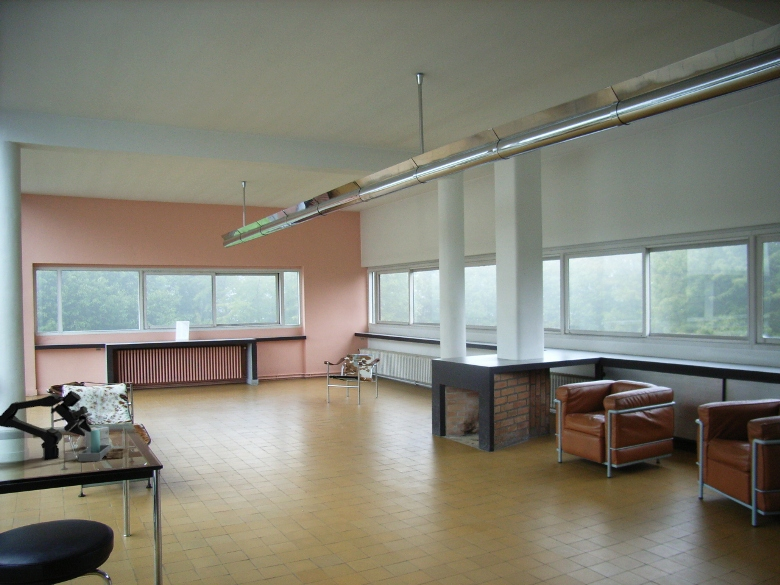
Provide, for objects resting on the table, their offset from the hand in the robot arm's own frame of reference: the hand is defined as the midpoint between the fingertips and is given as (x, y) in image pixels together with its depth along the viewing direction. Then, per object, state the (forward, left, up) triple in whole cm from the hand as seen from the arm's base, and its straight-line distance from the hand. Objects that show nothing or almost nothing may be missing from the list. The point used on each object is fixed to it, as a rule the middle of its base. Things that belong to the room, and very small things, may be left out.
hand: (88, 433), depth 329 cm
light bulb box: (+11, +19, -13) cm, 25 cm away
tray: (+3, -2, -12) cm, 13 cm away
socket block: (+12, -9, -12) cm, 19 cm away
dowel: (+3, -2, -11) cm, 12 cm away
